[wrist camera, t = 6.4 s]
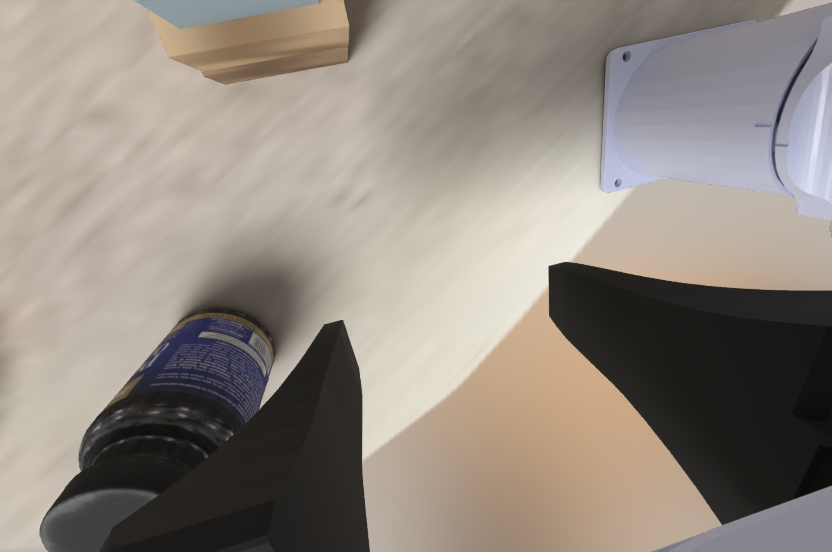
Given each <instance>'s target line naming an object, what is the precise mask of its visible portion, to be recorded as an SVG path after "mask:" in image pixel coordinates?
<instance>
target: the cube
mask: <svg viewBox="0 0 832 552" xmlns="http://www.w3.org/2000/svg"><path fill="white" fill-rule="evenodd" d="M134 1H136V2H137V3H139V4H141V5H142V6H144V7H145V8H147V9H149V10H150V11H152V12H153V13H155V14H156V15H158V16H160V17H161V18H163V19H164V20H166V21H168V22H169V23H171V24H172V25H174V26H175V27H177V28H179V29H185V28H190V27H196V26H201V25H207V24H212V23H217V22H223V21H228V20H234V19H239V18H245V17H250V16H255V15H261V14H266V13H272V12H277V11H282V10H288V9H293V8H299V7H304V6H310V5H315V4H319V0H134Z"/></svg>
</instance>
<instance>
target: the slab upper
mask: <svg viewBox="0 0 832 552" xmlns="http://www.w3.org/2000/svg"><path fill="white" fill-rule="evenodd" d="M148 12H149V14H150V16H151V19H152V21H153V23H154V26H155V28H156V31H157V33H158V35H159V38H160V40H161V42H162V45H163V47H164V49H165V52H166V54H167V56H168V57H169V58H171V59H173V60H176V61H178V62H181V63H183V64H185V65H188V66H190V67H193V68H195V69H197V70H200V71H202V72H206V71H212V70H217V69H223V68H229V67H234V66H240V65H245V64H251V63H257V62H262V61H268V60H274V59H279V58H285V57H290V56H296V55H302V54H307V53H313V52H318V51H324V50H330V49H335V48H341V47H347V46H349V23H348V18H347V14H346V9H345V5H344V0H319V4H315V5H310V6H304V7H299V8H293V9H288V10H282V11H277V12H272V13H266V14H261V15H255V16H250V17H245V18H239V19H234V20H228V21H223V22H217V23H212V24H207V25H201V26H196V27H190V28H185V29H179V28H177V27H175V26H174V25H172V24H171V23H169V22H168V21H166V20H164V19H163V18H161V17H160V16H158V15H156V14H155V13H153V12H152V11H150V10H149V9H148Z"/></svg>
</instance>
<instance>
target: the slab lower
mask: <svg viewBox="0 0 832 552" xmlns="http://www.w3.org/2000/svg"><path fill="white" fill-rule="evenodd" d="M347 62H348V47H341V48H335V49H330V50H324V51H318V52H313V53H307V54H302V55H296V56H290V57H285V58H279V59H274V60H268V61H262V62H257V63H251V64H245V65H240V66H234V67H229V68H223V69H217V70H212V71H206V72H202V73H203V76H204V77H207V78H209V79H212V80H215V81H217V82H220V83H222V84H225V85H226V84H231V83H237V82H242V81H248V80H253V79H259V78H264V77H270V76H275V75H281V74H286V73H292V72H297V71H303V70H308V69H314V68H319V67H325V66H330V65H336V64H341V63H347Z"/></svg>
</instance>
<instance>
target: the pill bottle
mask: <svg viewBox="0 0 832 552" xmlns="http://www.w3.org/2000/svg"><path fill="white" fill-rule="evenodd" d="M274 355H275V352H274V345H273V342H272V339H271V337H270V335H269V333H268V332H267V330H266V329H264V327H263V326H262V325H261V324H260V323H259V322H258V321H256V320H255V319H253V318H252V317H250V316H248V315H246V314H244V313H242V312H238V311H234V310H229V309H221V308H220V309H219V308H218V309H207V310H203V311H199V312H196V313H194V314H192V315H190V316H187V317H185V318H183V319H182V320H181V321H179V322H178V324H177V325H176V326H175V327H174V328H173V329H172V331H171V332H170V333H169V334H168V335H167V336H166V338H165V339H164V340H163V341H162V342H161V343H160V345H159V346H158V347H157V348H156V349H155V350H154V351H153V353H152V354H151V355H150V356H149V357H148V359H147V360H146V361H145V362H144V363H143V364H142V366H141V367H140V368H139V369H138V370H137V371H136V372H135V374H134V375H133V376H132V377H131V378H130V380H129V381H128V382H127V383H126V384H125V386H124V387H123V388H122V389H121V390H120V391H119V393H118V394H117V395H116V396H115V397H114V398H113V400H112V401H111V402H110V403H109V404H108V405H107V407H106V408H105V409H104V410H103V411H102V412H101V413H100V414H99V415H98V416H97V418H96V419H95V420H94V422H93V423H92V424H91V426H90V427H89V428H88V429H87V431H86V433H85V435H84V437H83V439H82V443H81V445H80V450H79V459H78V460H79V468H80V470H81V472H80V473H79V474H78V475H76V476H75V477H74V478H73V479H72V480H71V481H70V482H69V484H68V485H67V486H66V487H65V489H64V491H63V492H62V493H61V495H60V496H59V497H58V499H57V500H56V501H55V502H54V504H53V505H52V507H51V508H50V509H49V511H48V512H47V513H46V515H45V517H44V518H43V521H42V523H41V526H40V537H41V539H42V543H43V544H44V546H45V548H46V549H47V550H48V551H49V552H99V550H100V548H101V547H102V545H103V543H104V541H105V540H106V538H107V536H108V535H109V533H110V531H111V530H112V528H113V527H114V526H115V525H117V524H118V523H120V522H121V521H123V520H124V519H126V518H127V517H128V516H130V515H131V514H133V513H134V512H135V511H137V510H138V509H140V508H141V507H142V506H144V505H145V504H147V503H148V502H149V501H151V500H152V499H154V498H155V497H156V496H158V495H159V494H161V493H162V492H164V491H165V490H166V489H168V488H169V487H170V486H172V485H173V484H174V483H176V482H177V481H178V480H180V479H181V478H182V477H184V476H185V475H186V474H187V473H189V472H190V471H191V470H192V469H194V468H195V467H196V466H198V465H199V464H200V463H201V462H203V461H204V460H205V459H206V458H207V457H209V456H210V455H211V454H212V453H213V452H215V451H216V450H217V449H218V448H219V447H220V446H222V445H223V444H224V443H225V442H226V441H227V440H228V439H229V438H230V437H231V436H232V435H234V434H235V433H236V432H237V431H238V430H239V429H240V428H241V427H242V426H243V425H244V424H245V423H246V422H248V421H249V420H250V419H251V418H252V417H253V416H254V415H255V414H256V413H257V412H258V410H259V407H260V404H261V400H262V397H263V394H264V391H265V387H266V385H267V382H268V379H269V375H270V371H271V368H272V365H273V361H274Z"/></svg>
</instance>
